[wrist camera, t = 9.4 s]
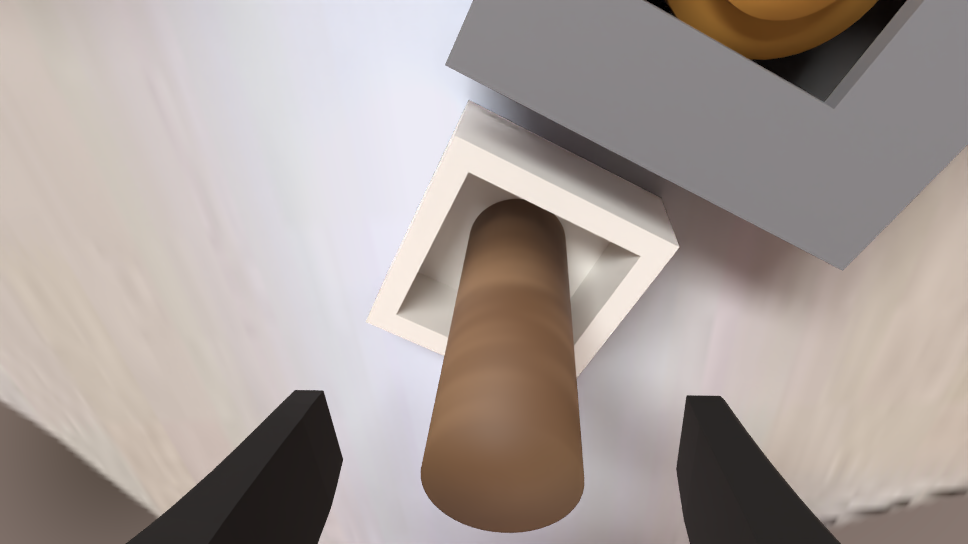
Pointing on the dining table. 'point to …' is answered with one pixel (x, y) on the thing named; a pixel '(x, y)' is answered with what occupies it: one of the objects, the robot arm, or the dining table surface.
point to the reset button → (770, 23)
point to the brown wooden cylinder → (508, 380)
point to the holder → (548, 184)
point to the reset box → (739, 109)
